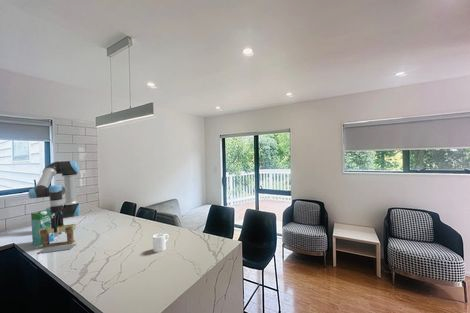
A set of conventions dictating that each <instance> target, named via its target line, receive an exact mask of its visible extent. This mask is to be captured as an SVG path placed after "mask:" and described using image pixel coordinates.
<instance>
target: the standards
mask: <svg viewBox="0 0 470 313" xmlns="http://www.w3.org/2000/svg"><path fill="white" fill-rule="evenodd" d="M74 231H75V230H73V231H70V227H69V228H65V232H64V233H65V234H66V241H60V242H50V241H49V233H48V234H46V230H42V231H40V236H42V244H43V245H40V248H41V249H44V248H49V247H57V246H64V245H72V244H75V242H76V240H74Z"/></svg>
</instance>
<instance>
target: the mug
mask: <svg viewBox="0 0 470 313" xmlns="http://www.w3.org/2000/svg"><path fill="white" fill-rule="evenodd" d="M169 237H170V235H169V234H168V233H161V232H160V233H156V234H153V236H152V251H153V252H154V253H160V252H164V251H165V250H166V249H167V245H166V242H167V241H168V240H169Z"/></svg>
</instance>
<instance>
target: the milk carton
mask: <svg viewBox="0 0 470 313" xmlns="http://www.w3.org/2000/svg"><path fill="white" fill-rule="evenodd" d="M30 215H31V233H32V234H31V235H32V245H34V246H43V244H42V236H40V234H39V229H40V228H43V227H51V218H50V216H52V213H51V212H47V211H45V210H44V209H43V210H39V211H34V212H30ZM49 241H50V243H52V242H53V241H55V237H54V233H49Z"/></svg>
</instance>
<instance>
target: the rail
mask: <svg viewBox="0 0 470 313" xmlns="http://www.w3.org/2000/svg"><path fill="white" fill-rule="evenodd" d="M69 227H70V231H73V230H74V231H75V230H76V223H73V224H64V225H61V226H58V227H57V228H58V232H62V233H63V232H64V233H65V228H69ZM42 230H46V234H48V233H53V234H54V229H52V228H51V227H43V228H40V229H39V234H40V231H42ZM74 231H73V232H74Z"/></svg>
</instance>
